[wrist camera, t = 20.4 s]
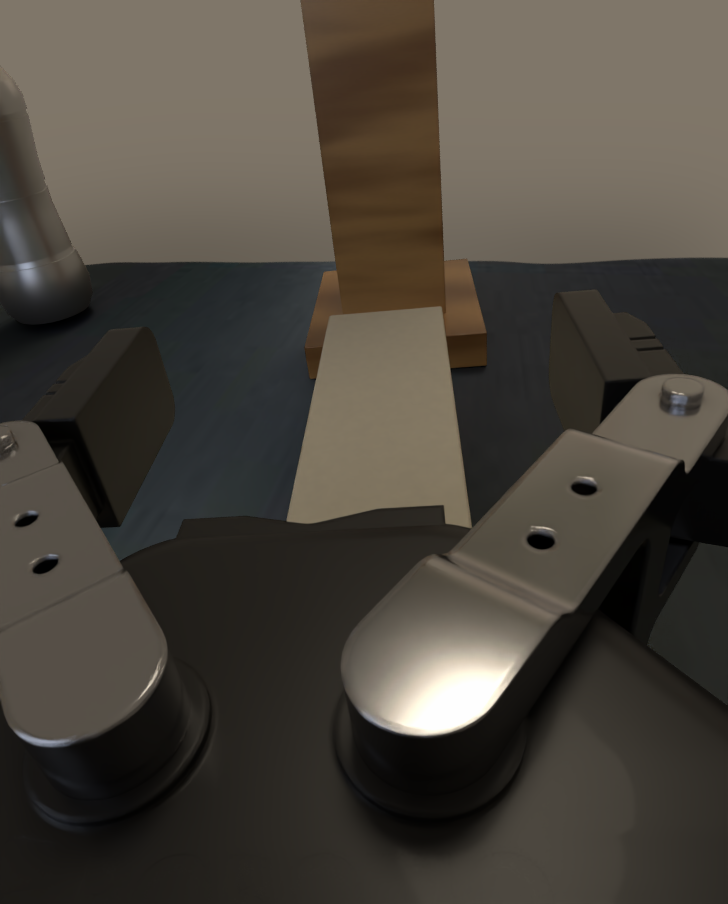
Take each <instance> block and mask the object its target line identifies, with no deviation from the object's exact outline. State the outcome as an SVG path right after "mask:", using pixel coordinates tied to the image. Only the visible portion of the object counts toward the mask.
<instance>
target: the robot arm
mask: <svg viewBox="0 0 728 904" xmlns="http://www.w3.org/2000/svg"><path fill="white" fill-rule="evenodd" d="M549 384H550V392H551V397H552V400H553V403H554V405H555V408H556V410H557V413H558V416H559V418H560V421H561V424H562V426H563V429H564V432H563V433H562V434H561V435H560V436H559V438H558V439H557V440H556V441H555V442H554V443H553V444H552V445H551V446H550V447H549V448H548V449H547V450H546V451H545V452H544V453H543V454H542V455H541V456H540V457H539V459H538V460H537V461H536V462H535V463H534V464H533V465H532V466H531V467H530V468H529V469H528V470H527V471H526V472H525V473H524V474H523V475H522V476H521V477H520V479H519V480H518V481H517V482H516V483H515V484H514V485H513V486H512V487H511V488H510V489H509V490H508V491H507V492H506V493H505V494H504V495H503V496H502V497H501V499H500V500H499V501H498V502H497V503H496V504H495V505H494V506H493V507H492V508H491V509H490V510H489V511H488V512H487V513H486V514H485V515H484V516H483V517H482V518H481V520H480V521H479V522H478V523H477V524H476V525H475V526H474V527H473V528H468V527H463V526H459V525H453V524H446V523H445V512H444V505H433V506H415V507H397V508H379V509H374V510H370V511H365V512H361V513H356V514H352V515H348V516H343V517H339V518H334V519H330V520H326V521H321V522H317V523H309V524H305V523H296V522H288V521H281V520H273V519H265V518H258V517H250V516H236V517H218V518H200V519H184V520H183V522H182V525H181V527H180V530H179V532H178V535H177V537H176V538H175V539H171V540H167V541H164V542H161V543H158V544H155V545H152V546H150V547H147V548H145V549H142V550H140V551H138V552H136V553H134V554H132V555H130V556H128V557H126V558H124V559H122V560H121V561H119V560H118V558H117V556H116V554H115V553H114V551H113V549H112V547H111V546H110V544H109V542H108V540H107V539H106V537H105V535H104V533H103V532H102V530H101V528H105V527H120V526H121V524H122V522H123V520H124V518H125V516H126V514H127V512H128V510H129V508H130V506H131V504H132V502H133V501H134V499H135V497H136V495H137V493H138V491H139V489H140V487H141V485H142V483H143V481H144V479H145V477H146V475H147V473H148V471H149V469H150V467H151V466H152V464H153V462H154V460H155V458H156V456H157V454H158V452H159V450H160V448H161V446H162V444H163V442H164V440H165V438H166V436H167V434H168V432H169V431H170V429H171V427H172V425H173V422H174V417H175V404H174V398H173V394H172V390H171V387H170V384H169V381H168V378H167V374H166V371H165V368H164V365H163V362H162V358H161V355H160V352H159V349H158V346H157V342H156V339H155V337H154V335H153V333H152V331H151V330H150V329H149V328H147V327H137V328H126V329H114V330H109V331H108V332H107V333H106V334H105V335H104V336H103V338H102V339H101V340H100V341H99V342H98V343H97V345H96V346H95V347H94V348H93V349H92V351H91V352H90V353H89V354H88V355H87V356H85V357H84V358H82V359H81V360H79V361H77V362H76V363H74V364H73V365H71V366H70V367H68V368H67V369H66V370H65V371H64V372H63V373H62V375H61V376H60V377H59V378H58V379H57V380H56V384H53V385H52V386H51V387H50V388H49V390H48V391H47V392H46V395H43V397H42V398H41V399H40V400H39V401H38V402H37V403H36V405H35V406H34V407H33V408H32V409H31V410H30V412H29V413H28V414H27V415H26V416H25V417H24V418H23V420H22V421H11V422H5V423H1V424H0V904H728V706H727V705H726V704H725V703H723V702H722V701H721V700H719V699H718V698H716V697H715V696H714V695H712V694H711V693H710V692H708V691H707V690H706V689H704V688H703V687H702V686H700V685H699V684H698V683H696V682H695V681H694V680H692V679H691V678H690V677H688V676H687V675H686V674H684V673H683V672H682V671H680V670H679V669H678V668H676V667H675V666H674V665H672V664H671V663H669V662H668V661H667V660H665V659H664V658H663V657H661V656H660V655H659V654H657V653H656V652H655V651H653V650H652V649H651V648H649V647H648V646H647V643H648V640H649V637H650V634H651V631H652V629H653V626H654V624H655V622H656V620H657V618H658V616H659V614H660V612H661V611H662V609H663V607H664V605H665V604H666V602H667V600H668V598H669V597H670V595H671V593H672V591H673V590H674V588H675V586H676V584H677V583H678V581H679V579H680V578H681V576H682V574H683V572H684V571H685V569H686V567H687V565H688V564H689V562H690V560H691V558H692V557H693V555H694V553H695V551H696V550H697V547H698V545H699V542H701V543H707V544H713V545H719V546H725V547H728V391H727V390H726V389H725V388H724V387H722V386H721V385H719V384H717V383H715V382H713V381H710V380H708V379H705V378H701V377H697V376H692V375H685V374H683V372H682V371H681V370H680V368H679V367H678V366H677V364H676V363H675V362H674V360H673V359H672V358H671V356H670V355H669V354H668V352H667V351H666V350H664V349H663V345H662V344H661V343H660V341H659V340H658V339H655V335H654V333H653V332H652V331H651V329H650V328H649V327H648V325H647V324H646V323H645V322H643V321H641V320H639V319H637V318H636V317H634V316H632V315H630V314H628V313H626V312H624V313H612V312H611V310H610V309H609V307H608V306H607V304H606V303H605V301H604V300H603V298H602V297H601V295H600V294H599V292H598V291H597V290H585V291H573V292H561V293H556V294H555V296H554V301H553V309H552V325H551V342H550V359H549Z"/></svg>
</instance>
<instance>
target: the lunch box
mask: <svg viewBox="0 0 728 904" xmlns="http://www.w3.org/2000/svg"><path fill="white" fill-rule="evenodd" d="M433 505H444V512H445V523H446V524H453V525H459V526H463V527H468V528H472V524H471V517H470V509H469V502H468V495H467V487H466V480H465V473H464V465H463V458H462V451H461V443H460V436H459V429H458V421H457V414H456V407H455V399H454V392H453V385H452V377H451V370H450V363H449V355H448V348H447V341H446V334H445V326H444V319H443V312H442V307H440V306H439V307H427V308H415V309H403V310H391V311H379V312H368V313H356V314H344V315H332V316H329V320H328V325H327V330H326V335H325V339H324V344H323V349H322V354H321V358H320V363H319V368H318V373H317V377H316V382H315V387H314V392H313V396H312V401H311V406H310V411H309V416H308V420H307V425H306V430H305V435H304V439H303V444H302V449H301V454H300V458H299V463H298V468H297V473H296V477H295V482H294V487H293V492H292V496H291V501H290V506H289V511H288V515H287V520H286V521H288V522H296V523H305V524H309V523H317V522H321V521H326V520H330V519H334V518H339V517H343V516H348V515H352V514H356V513H361V512H365V511H370V510H374V509H379V508H397V507H415V506H433Z"/></svg>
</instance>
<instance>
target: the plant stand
mask: <svg viewBox="0 0 728 904" xmlns="http://www.w3.org/2000/svg"><path fill="white" fill-rule="evenodd" d="M301 7H302V14H303V22H304V30H305V37H306V44H307V52H308V59H309V67H310V74H311V82H312V89H313V97H314V104H315V112H316V118H317V126H318V134H319V142H320V149H321V157H322V164H323V171H324V179H325V186H326V194H327V201H328V209H329V216H330V224H331V231H332V239H333V246H334V254H335V261H336V269H337V271H328V272H324V274H323V278H322V282H321V285H320V289H319V293H318V297H317V301H316V305H315V309H314V313H313V316H312V320H311V324H310V328H309V332H308V336H307V340H306V344H305V354H306V360H307V366H308V371H309V377H310V379H314V378H316V377H317V373H318V368H319V363H320V358H321V354H322V349H323V344H324V339H325V335H326V330H327V325H328V320H329V316H332V315H344V314H356V313H368V312H379V311H391V310H403V309H415V308H427V307H439V306H440V307H442V312H443V319H444V326H445V334H446V341H447V348H448V355H449V363H450V368H459V367H472V366H485V365H487V332H486V329H485V325H484V321H483V317H482V313H481V309H480V306H479V302H478V298H477V294H476V290H475V286H474V283H473V279H472V275H471V271H470V267H469V263H468V260H467V259H459V260H449V261H444V250H443V249H444V248H443V222H442V200H441V199H442V198H441V171H440V149H439V148H440V145H439V120H438V94H437V72H436V71H437V68H436V43H435V19H434V18H435V17H434V0H301Z"/></svg>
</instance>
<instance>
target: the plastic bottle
mask: <svg viewBox="0 0 728 904" xmlns="http://www.w3.org/2000/svg"><path fill="white" fill-rule="evenodd" d="M26 108H27V107H26V105H25V101H24V98H23V94H22V92H21V91H20V89H19V88H18V86H17V85H16V83H15V82H14V80H13V79H12V78H11V76H10V75H9V74H7V72H6V71H5V70H4V69H3V68H2V67H1V66H0V303H1V305H2V306H3V308H4V309H5V311H6V312H7V313H8V315H10V316H11V317H12V318H14V319H15V320H17V321H18V322H20V323H22V324H30V325H35V324H46V323H51V322H56V321H60V320H63V319H66V318H69V317H72V316H74V315H76V314H78V313H80V312H82V311H84V310H85V309H86V308H87V307H88V306H89V305H90V301H91V297H92V293H93V291H92V286H91V280H90V275H89V273H88V271H87V269H86V267H85V265H84V263H83V261H82V259H81V257H80V255H79V254H78V252H77V250H76V249H75V247H74V246H72V245H71V244H72V243H71V241H70V239H69V237H68V234H67V232H66V230H65V228H64V226H63V223H62V221H61V219H60V217H59V215H58V213H57V210H56V208H55V206H54V204H53V202H52V199H51V196H50V193H49V190H48V187H47V186H46V184H45V181H44V179H45V177H44V174H43V171H42V168H41V165H40V162H39V159H38V155H37V151H36V147H35V142H34V138H33V134H32V129H31V125H30V120H29V116H28V114H27V112H26Z"/></svg>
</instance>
